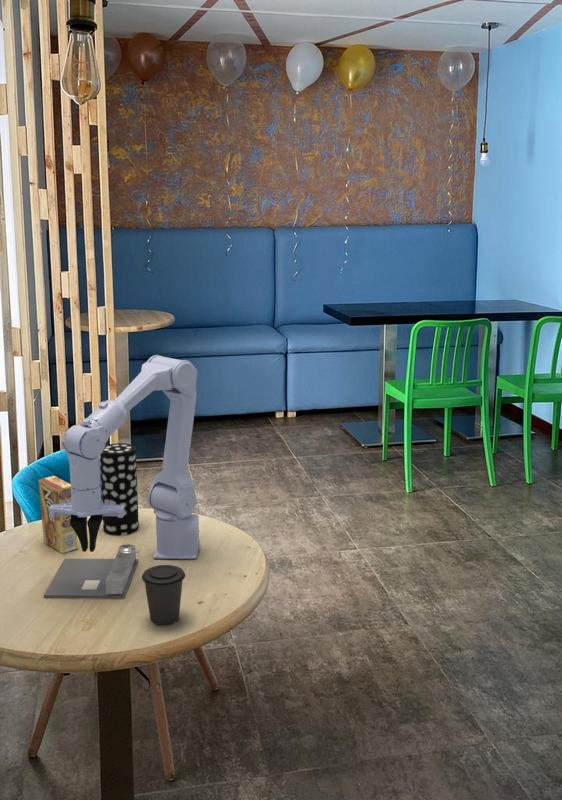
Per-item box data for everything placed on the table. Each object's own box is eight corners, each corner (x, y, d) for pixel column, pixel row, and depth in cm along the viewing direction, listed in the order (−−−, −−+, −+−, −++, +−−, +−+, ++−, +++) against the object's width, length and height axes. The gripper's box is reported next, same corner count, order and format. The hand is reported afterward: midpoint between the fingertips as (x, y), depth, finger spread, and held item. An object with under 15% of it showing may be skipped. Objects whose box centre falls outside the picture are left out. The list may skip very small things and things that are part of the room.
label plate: (138, 561, 185) (138, 558, 185) (124, 598, 169) (124, 594, 169) (64, 561, 185) (64, 557, 185) (43, 597, 169) (43, 594, 169)
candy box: (78, 549, 192) (75, 484, 188) (61, 554, 189) (57, 489, 185) (58, 537, 198) (54, 474, 194) (41, 542, 195) (37, 479, 191)
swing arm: (120, 557, 185) (119, 544, 184) (137, 558, 185) (136, 544, 184) (105, 594, 169) (104, 579, 168) (123, 594, 169) (122, 579, 168)
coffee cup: (141, 610, 164) (139, 562, 162) (183, 606, 166) (182, 559, 164) (144, 631, 157) (142, 581, 154) (188, 627, 158) (187, 577, 156)
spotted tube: (100, 524, 205) (96, 445, 200) (135, 520, 208) (132, 441, 203) (106, 537, 198) (102, 455, 193) (142, 533, 201) (139, 451, 196)
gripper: (43, 492, 164) (47, 557, 167) (118, 493, 164) (121, 558, 167) (52, 480, 171) (56, 543, 174) (125, 480, 171) (127, 543, 174)
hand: (89, 549), depth 171 cm, fingers closed
